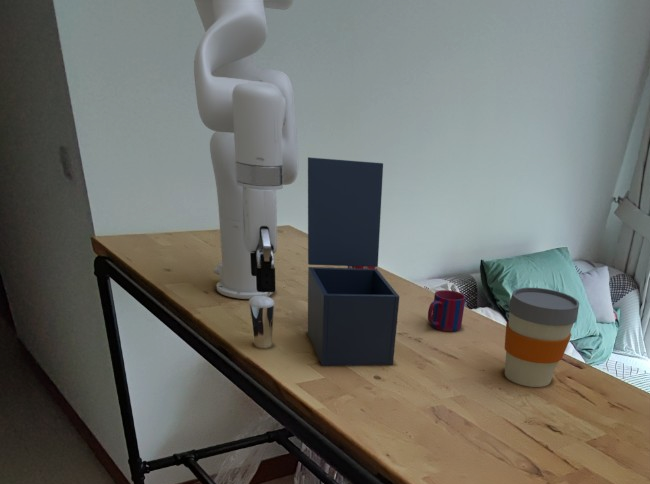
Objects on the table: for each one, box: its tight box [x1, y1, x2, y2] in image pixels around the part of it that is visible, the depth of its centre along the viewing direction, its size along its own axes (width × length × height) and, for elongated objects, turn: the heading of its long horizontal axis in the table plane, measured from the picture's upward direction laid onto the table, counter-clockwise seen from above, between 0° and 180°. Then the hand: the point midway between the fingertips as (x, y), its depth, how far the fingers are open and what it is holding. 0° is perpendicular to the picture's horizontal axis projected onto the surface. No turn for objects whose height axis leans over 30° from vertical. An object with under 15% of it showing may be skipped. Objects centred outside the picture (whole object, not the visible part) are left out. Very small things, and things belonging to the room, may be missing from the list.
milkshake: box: [248, 292, 275, 349], centre depth 120 cm, size 4×5×10 cm
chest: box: [307, 266, 400, 367], centre depth 123 cm, size 17×14×13 cm
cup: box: [427, 289, 467, 333], centre depth 139 cm, size 7×10×7 cm
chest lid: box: [307, 157, 384, 268], centre depth 120 cm, size 18×14×1 cm
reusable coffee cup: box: [504, 287, 580, 388], centre depth 120 cm, size 13×12×15 cm
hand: (263, 283), depth 116 cm, fingers open, 9 cm apart
